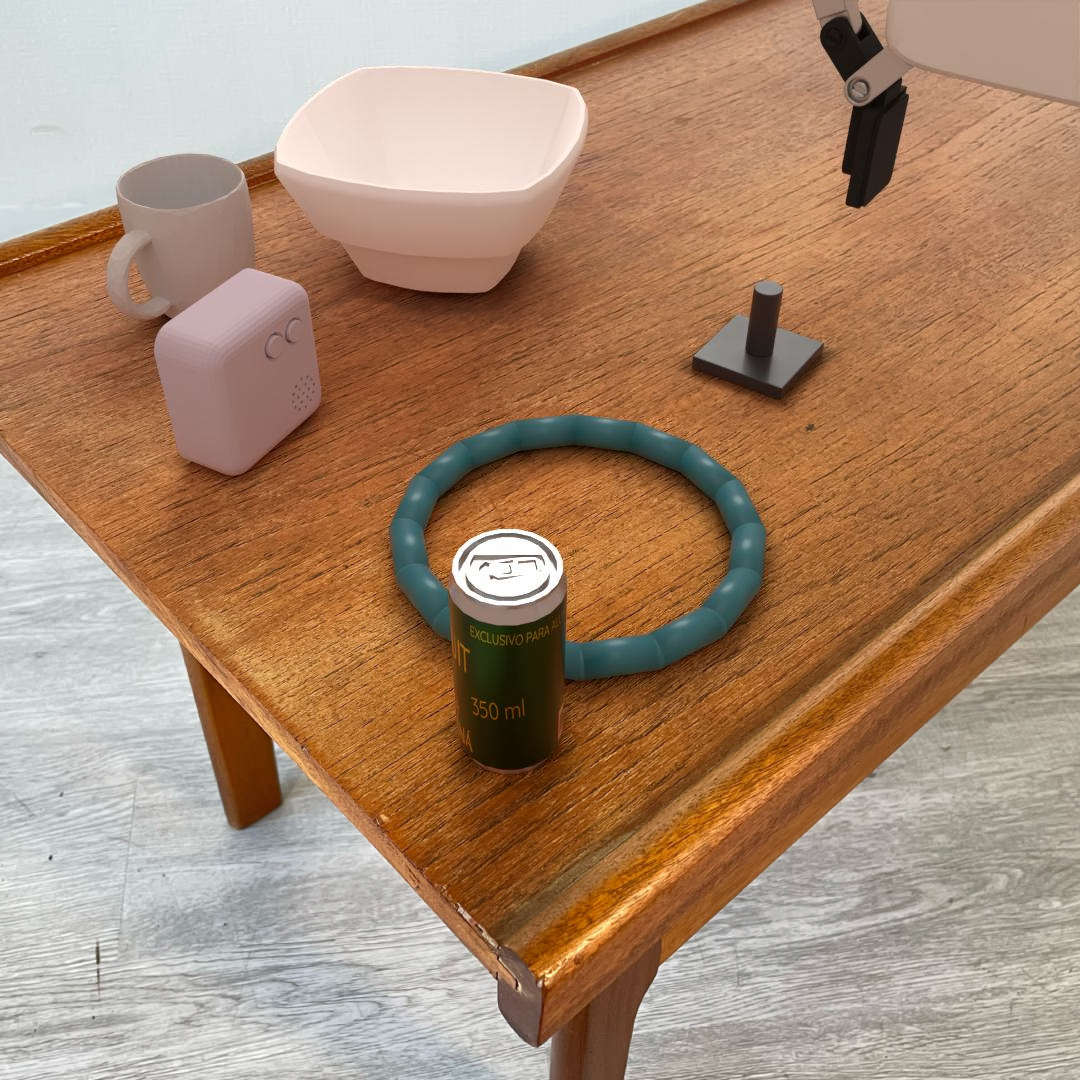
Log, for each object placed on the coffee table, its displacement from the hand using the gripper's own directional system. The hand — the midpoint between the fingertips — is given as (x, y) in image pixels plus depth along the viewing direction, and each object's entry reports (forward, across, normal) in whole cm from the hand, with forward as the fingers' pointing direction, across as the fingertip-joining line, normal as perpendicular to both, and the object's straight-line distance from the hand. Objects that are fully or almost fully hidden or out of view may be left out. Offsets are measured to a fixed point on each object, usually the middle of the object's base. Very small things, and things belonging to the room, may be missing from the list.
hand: (983, 228), depth 47 cm
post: (+26, +18, -24) cm, 40 cm away
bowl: (+26, +45, -22) cm, 57 cm away
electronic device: (+26, +41, +3) cm, 49 cm away
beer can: (+26, +13, +14) cm, 33 cm away
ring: (+25, +18, 0) cm, 31 cm away
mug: (+26, +56, -5) cm, 62 cm away
